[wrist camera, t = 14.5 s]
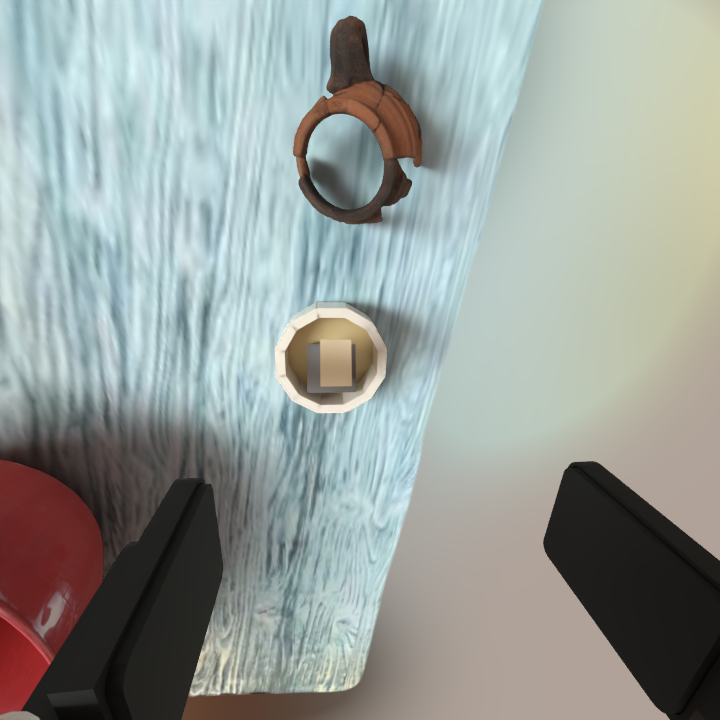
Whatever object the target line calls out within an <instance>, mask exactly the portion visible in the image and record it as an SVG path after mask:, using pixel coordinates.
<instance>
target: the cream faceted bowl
mask: <svg viewBox="0 0 720 720" xmlns="http://www.w3.org/2000/svg"><path fill="white" fill-rule="evenodd" d="M320 340H351V344H355V350H356V392H339V393H307V344H320ZM386 359H387V348H386V346H385V344H384V342H383V340H382V338H381V337H380V335H379V333H378V331H377V329H376V327H375V325H374V324H373V322H372V321H371V319H370V318H369V317H368V316H367V315H366V314H364V313H362V312H361V311H359V310H357V309H356V308H354V307H352V306H351V305H349V304H347V303H346V302H315V303H313V304H312V305H310V306H308V307H306V308H305V309H303V310H301V311H299V312H298V313H296V314H294V315H293V316H292V317H291V319H290V321H289V323H288V325H287V326H286V328H285V330H284V332H283V334H282V335H281V337H280V339H279V341H278V344H277V346H276V348H275V362H276V377H277V379H278V381H279V382H280V384H281V385H282V387H283V388H284V390H285V391H286V392H287V394H288V395H289V397H290V398H291V400H293V401H294V402H296V403H298V404H300V405H302V406H304V407H306V408H308V409H310V410H312V411H314V412H316V413H342V412H348V411H349V410H351V409H353V408H355V407H357V406H359V405H361V404H362V403H364V402H366V401H368V400H370V399H371V398H372V396H373V394H374V393H375V391H376V390H377V388H378V387H379V385H380V384H381V382H382V381H383V379H384V378H385V376H386Z"/></svg>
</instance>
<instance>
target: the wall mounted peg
mask: <svg viewBox="0 0 720 720" xmlns="http://www.w3.org/2000/svg"><path fill="white" fill-rule="evenodd" d="M339 392H356V350H355V344H351V340H320V344H307V393H339Z"/></svg>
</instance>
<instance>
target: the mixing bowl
mask: <svg viewBox="0 0 720 720" xmlns="http://www.w3.org/2000/svg"><path fill="white" fill-rule="evenodd" d="M103 558H104V554H103V541H102V536H101V533H100V530H99V526H98V523H97V521H96V519H95V517H94V516H93V514H92V512H91V511H90V509H89V507H88V506H87V505H86V504H85V503H84V501H83V500H82V499H81V498H80V497H79V496H78V495H77V494H76V493H75V492H74V491H73V490H71V489H70V488H69V487H67V486H66V485H65V484H63V483H62V482H60V481H59V480H57V479H56V478H54V477H52V476H50V475H48V474H46V473H44V472H42V471H40V470H37V469H34V468H31V467H28V466H25V465H22V464H19V463H16V462H11V461H8V460H0V715H3V714H6V713H9V712H20V711H21V710H22V708H23V707H24V705H25V703H26V702H27V700H28V699H29V697H30V695H31V694H32V692H33V691H34V689H35V688H36V686H37V684H38V683H39V681H40V680H41V678H42V676H43V675H44V673H45V672H46V670H47V669H48V667H49V665H50V664H51V662H52V661H53V659H54V657H55V656H56V654H57V653H58V651H59V650H60V648H61V646H62V645H63V643H64V642H65V640H66V639H67V637H68V635H69V634H70V632H71V631H72V629H73V627H74V626H75V624H76V623H77V621H78V620H79V618H80V616H81V615H82V613H83V612H84V610H85V608H86V607H87V605H88V604H89V602H90V601H91V599H92V597H93V596H94V594H95V593H96V591H97V589H98V588H99V586H100V585H101V583H102V580H103Z"/></svg>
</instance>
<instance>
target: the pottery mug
mask: <svg viewBox="0 0 720 720" xmlns="http://www.w3.org/2000/svg"><path fill="white" fill-rule="evenodd" d="M330 59H331V76H330V79H329V81H328V84H327V90H328V91H329V92H330V93H332V94H334V95H333V97H331V98H330V99H327V98H326V97H325V96H323V97H321V98H320V99H319V100H318V102H317V103H316V104H315V105H314V107H313V108H312V109H311V110H310V111H309V112H308V113H307V114H306V116H305V117H304V118H303V119H302V121H301V123H300V125H299V127H298V130H297V133H296V135H295V140H294V148H293V155H294V156H296V162H297V167H298V172H299V175H300V180H299V187H300V189H301V190H302V192H303V194H304V196H305V197H306V198H307V199H308V200H309V202H310V203H311V205H312V206H313V207H314V208H315V209H316V210H318V211H319V212H320V213H322V214H323V215H325V216H327V217H331V218H332V219H333V220H337V221H339V222H345V223H347V224H364V223H377V222H381V221H383V219H382V217H381V216H382V214H381V207H383V206H391V205H393V204H395V203H397V202H398V201H399V200H400V199H401V198H404V197H406V196H407V195H408V192H409V190H410V188H411V186H412V181H411V180H410V179H407V176H406V174H405V173H404V172H403V170H402V168H401V166H400V165H399V162H398V160H397V159H398V158H405V157H411V158H414V160H413V163H414V166H415V167H419V166H420V164H421V159H422V139H421V129H420V126H419V123H418V121H417V119H416V117H415V115H414V114H413V112H412V110H411V109H410V107H409V105H408V104H406V102H405V101H404V100H403V99H402V97H401V96H400V95H399V94H398V93H397V92H395V91H394V90H393V89H392V88H391V87H389V86H388V85H386V84H385V85H384V84H381V83H380V82H378V81H375V80H374V78H373V76H372V73H371V70H370V62H369V48H368V40H367V33H366V28H365V24H364V23H363V21H361V20H359V19H358V18H357V17H354V16H348V17H347V18H345V19H341V20H339V21H338V22H337V24H336V25H335V26H334V28H333V29H332V32H331V37H330ZM333 114H348V115H351V116H354V117H356V118H358V119H360V120H361V121H362V122H364V123H365V124H366V125H367V126H368V127H369V128H370V129H371V131H372V132H373V133H374V135H375V137H376V138H377V140H378V142H379V145H380V147H381V151H382V155H383V160H384V175H383V180H382V184H381V187H380V189H379V191H378V193H377V194H376V196H375V197H374V198H373V200H372V201H371V202H370V203H369V204H367V205H366V206H364V207H361V208H359V209H354V210H346V209H341V208H338V207H336V206H334V205H332V204H331V203H329V202H328V201H326V200H325V199H324V198H323V197H322V196H321V195H320V194H319V192H318V191H317V189H316V188H315V186H314V184H313V183H312V181H311V178H310V170H309V167H308V164H307V161H306V154H307V148H308V143H309V139H310V137H311V134H312V132H313V131H314V129H315V127H316V126H317V125H318V124H319V123H320V122H321V121H322V120H323V119H325V118H327V117H329V116H331V115H333Z"/></svg>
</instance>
